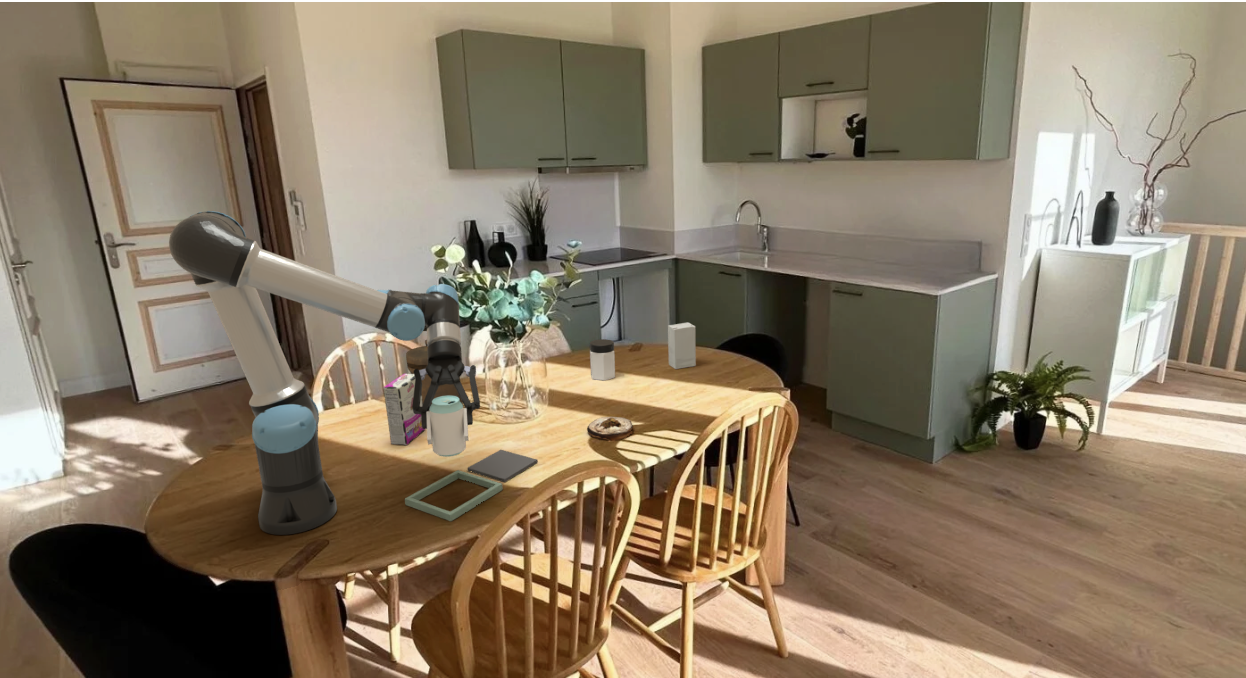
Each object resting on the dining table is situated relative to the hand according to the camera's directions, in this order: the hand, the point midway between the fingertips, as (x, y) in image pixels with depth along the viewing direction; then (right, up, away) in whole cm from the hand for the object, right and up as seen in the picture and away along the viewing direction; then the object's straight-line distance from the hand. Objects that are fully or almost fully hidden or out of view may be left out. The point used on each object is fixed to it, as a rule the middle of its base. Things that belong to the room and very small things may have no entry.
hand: (448, 440), depth 147 cm
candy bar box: (-21, -5, +41) cm, 46 cm away
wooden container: (-19, 0, +61) cm, 64 cm away
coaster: (+8, -10, +22) cm, 25 cm away
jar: (+30, +9, +86) cm, 92 cm away
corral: (0, -14, +7) cm, 16 cm away
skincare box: (+58, +12, +96) cm, 113 cm away
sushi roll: (+34, -4, +41) cm, 54 cm away
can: (-1, -3, +4) cm, 6 cm away
